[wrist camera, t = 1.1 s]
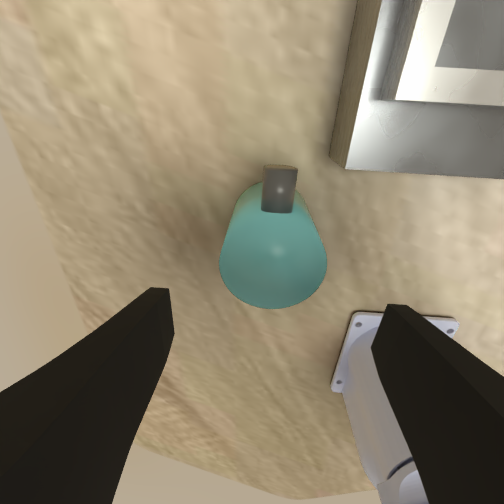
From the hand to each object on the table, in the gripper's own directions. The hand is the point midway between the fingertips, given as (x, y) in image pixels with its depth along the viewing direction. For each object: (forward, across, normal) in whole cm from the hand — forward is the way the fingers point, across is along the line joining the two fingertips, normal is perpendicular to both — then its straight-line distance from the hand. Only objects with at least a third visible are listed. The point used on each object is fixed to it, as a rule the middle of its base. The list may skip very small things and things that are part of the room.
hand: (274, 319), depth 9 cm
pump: (+9, 0, 0) cm, 9 cm away
